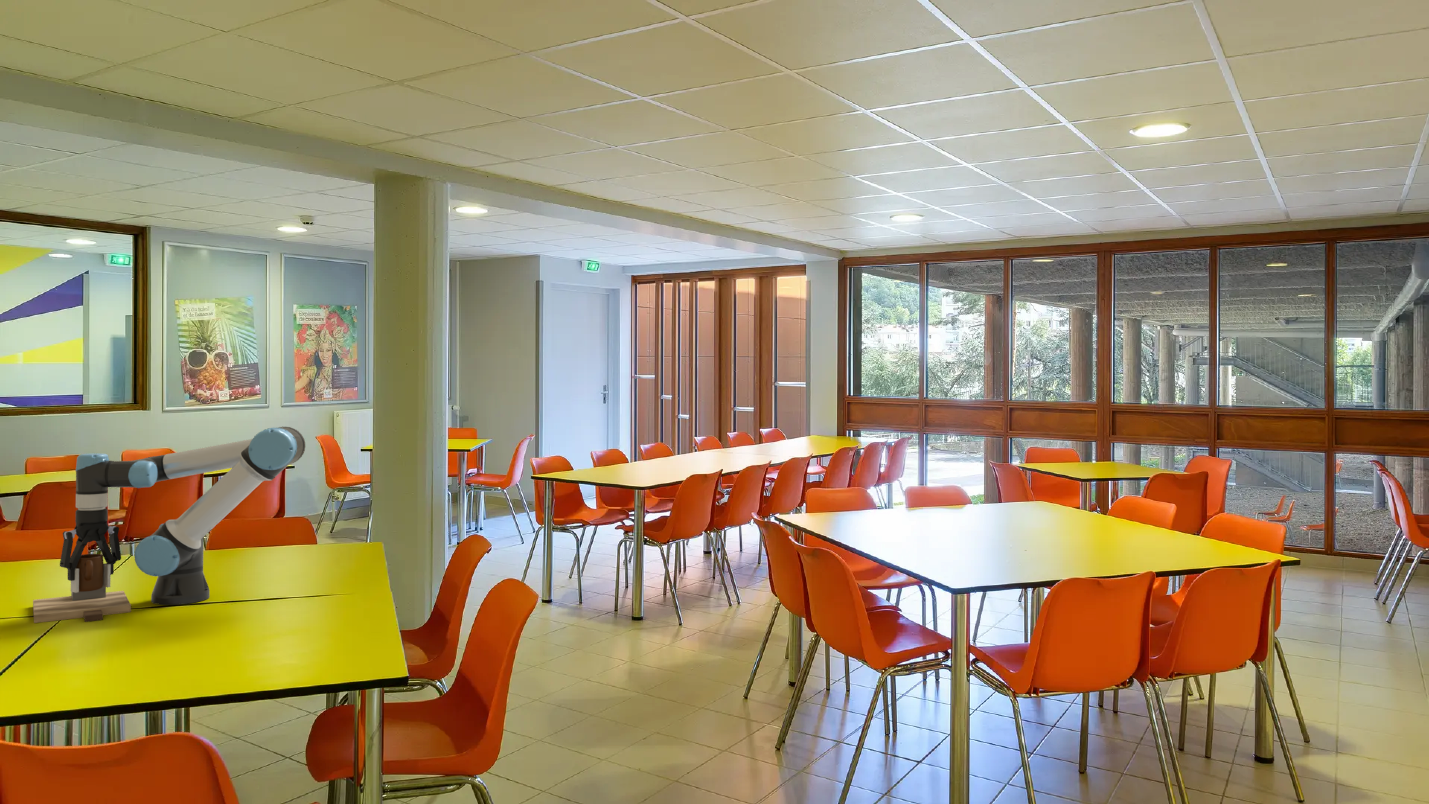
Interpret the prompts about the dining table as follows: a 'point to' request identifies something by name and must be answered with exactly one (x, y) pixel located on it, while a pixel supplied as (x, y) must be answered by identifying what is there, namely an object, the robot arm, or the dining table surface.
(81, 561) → the mug
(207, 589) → the robot arm
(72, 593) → the grey rectangular block
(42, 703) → the dining table surface
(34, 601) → the board
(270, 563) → the dining table surface
